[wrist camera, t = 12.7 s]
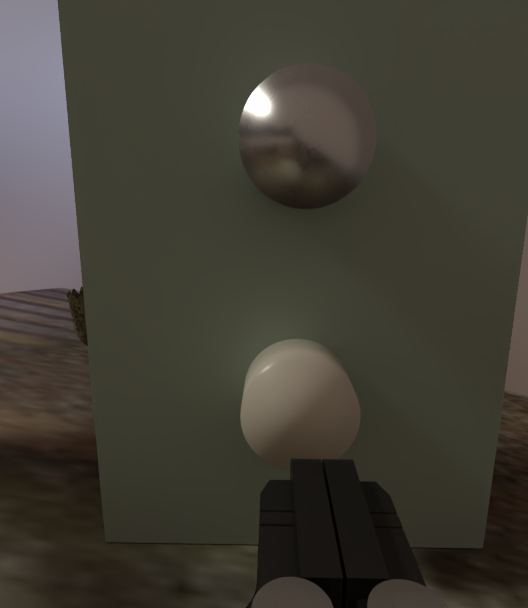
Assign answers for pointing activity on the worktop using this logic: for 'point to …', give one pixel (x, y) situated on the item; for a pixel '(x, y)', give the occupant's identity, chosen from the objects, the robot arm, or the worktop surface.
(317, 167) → the upper knob
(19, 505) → the worktop surface
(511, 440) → the worktop surface
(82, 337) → the cup
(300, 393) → the lower knob
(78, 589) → the worktop surface
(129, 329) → the block
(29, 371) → the worktop surface
